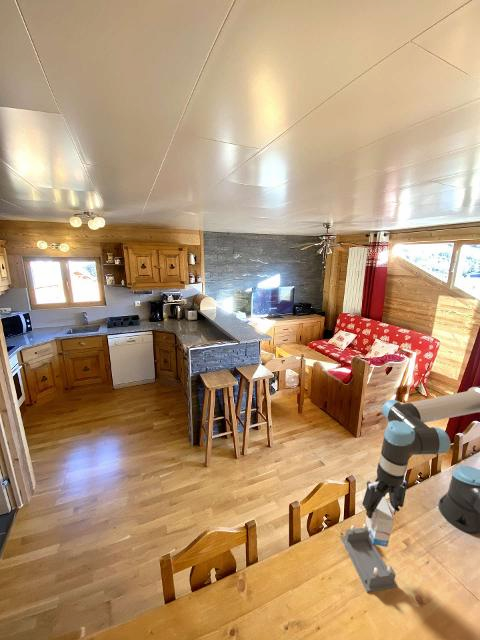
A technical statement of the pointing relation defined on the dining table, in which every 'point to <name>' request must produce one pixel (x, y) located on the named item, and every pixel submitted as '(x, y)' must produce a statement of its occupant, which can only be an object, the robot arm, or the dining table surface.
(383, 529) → the ink box
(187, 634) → the dining table surface
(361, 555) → the cradle
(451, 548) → the dining table surface
